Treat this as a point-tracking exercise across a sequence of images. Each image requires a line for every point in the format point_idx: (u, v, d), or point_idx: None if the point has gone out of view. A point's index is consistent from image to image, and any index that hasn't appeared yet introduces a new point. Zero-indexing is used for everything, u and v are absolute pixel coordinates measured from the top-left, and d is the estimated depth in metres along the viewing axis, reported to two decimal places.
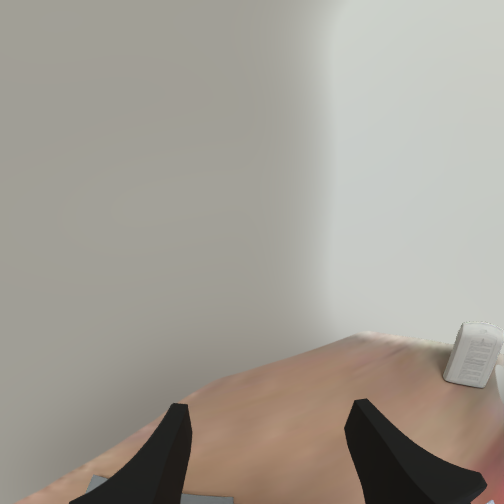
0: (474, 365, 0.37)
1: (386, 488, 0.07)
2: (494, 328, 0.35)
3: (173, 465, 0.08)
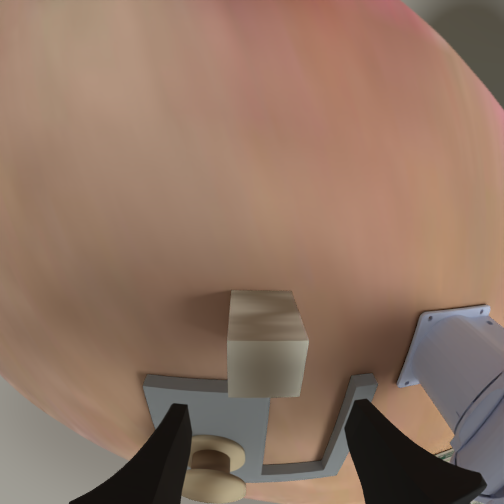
0: None
1: (386, 488, 0.07)
2: None
3: (173, 465, 0.08)
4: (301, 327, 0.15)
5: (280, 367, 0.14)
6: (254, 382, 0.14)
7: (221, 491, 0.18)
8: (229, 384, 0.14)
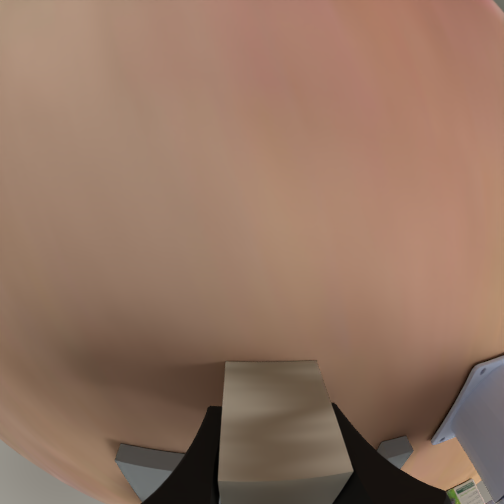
0: None
1: (346, 498, 0.06)
2: None
3: (216, 469, 0.08)
4: (339, 443, 0.07)
5: (302, 497, 0.07)
6: None
7: None
8: None
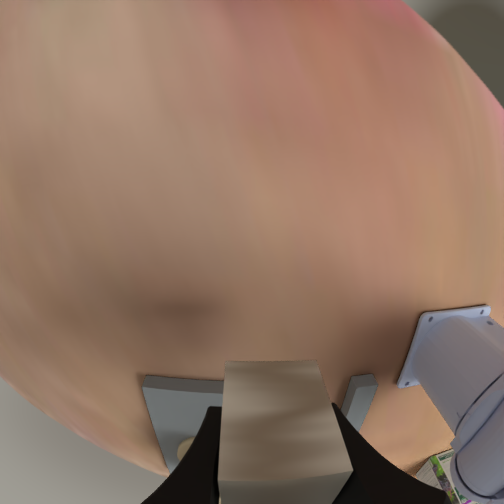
0: None
1: (346, 498, 0.06)
2: None
3: (216, 469, 0.08)
4: (339, 442, 0.08)
5: (302, 497, 0.07)
6: None
7: None
8: None
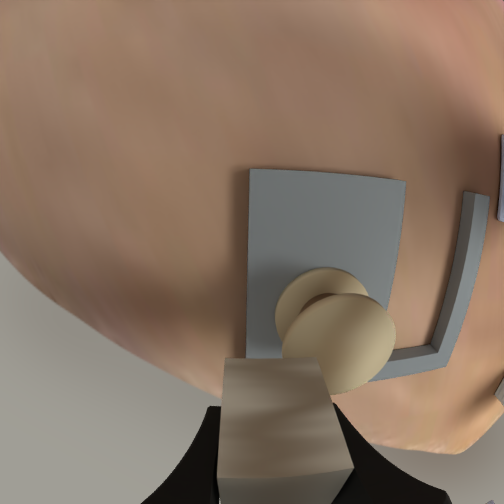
0: None
1: (346, 498, 0.06)
2: None
3: (216, 469, 0.08)
4: (339, 439, 0.07)
5: (303, 495, 0.07)
6: None
7: (362, 349, 0.14)
8: None
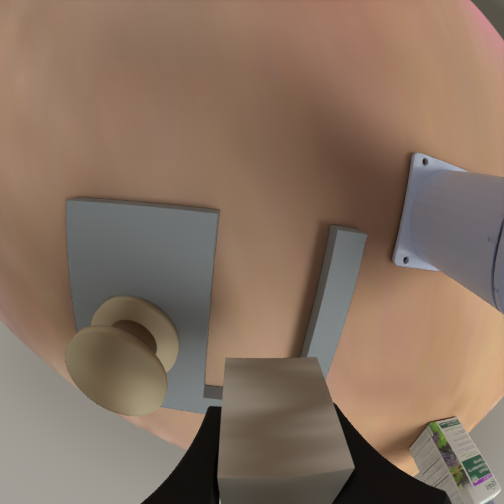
0: None
1: (346, 498, 0.06)
2: None
3: (216, 469, 0.08)
4: (340, 439, 0.07)
5: (303, 495, 0.07)
6: None
7: (129, 381, 0.14)
8: None
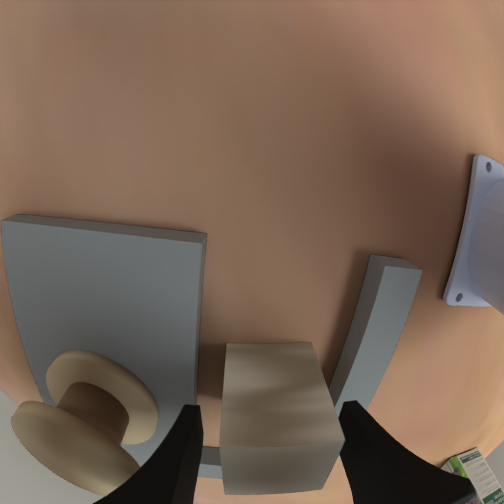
0: None
1: (373, 491, 0.07)
2: None
3: (187, 467, 0.08)
4: (332, 414, 0.09)
5: (298, 468, 0.08)
6: (261, 483, 0.08)
7: (92, 470, 0.08)
8: (225, 485, 0.08)
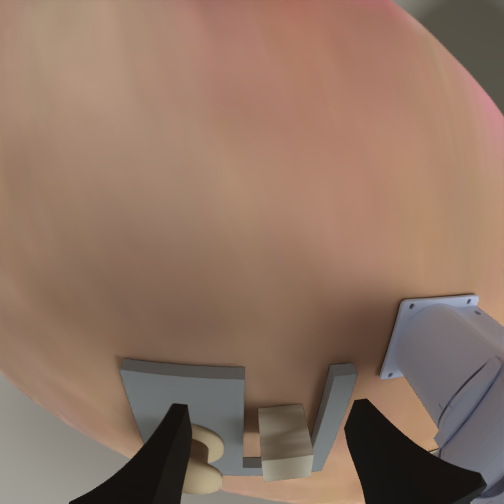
0: None
1: (386, 488, 0.07)
2: None
3: (173, 465, 0.08)
4: (309, 443, 0.19)
5: (296, 466, 0.18)
6: (280, 474, 0.18)
7: (197, 481, 0.18)
8: (264, 476, 0.18)
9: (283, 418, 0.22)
